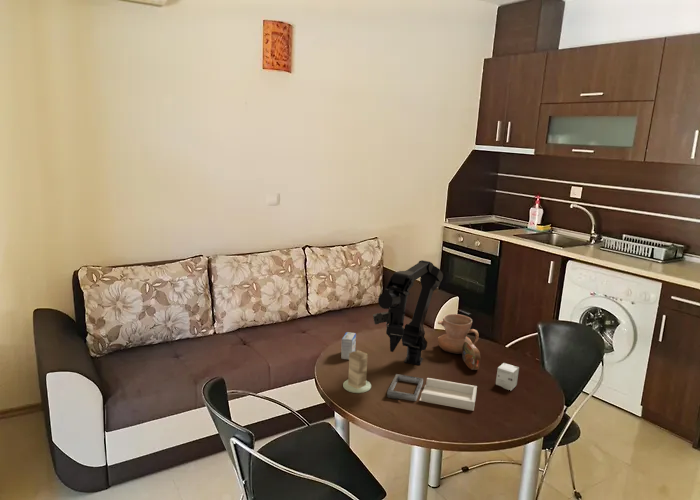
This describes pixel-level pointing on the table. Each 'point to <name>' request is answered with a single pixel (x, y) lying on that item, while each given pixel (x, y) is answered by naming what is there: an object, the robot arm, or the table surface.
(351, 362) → the maple block
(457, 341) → the ceramic jug
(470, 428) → the table surface
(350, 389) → the pad
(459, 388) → the cream rectangular tray
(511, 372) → the skincare box
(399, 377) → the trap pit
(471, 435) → the table surface
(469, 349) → the tin
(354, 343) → the medicine box
